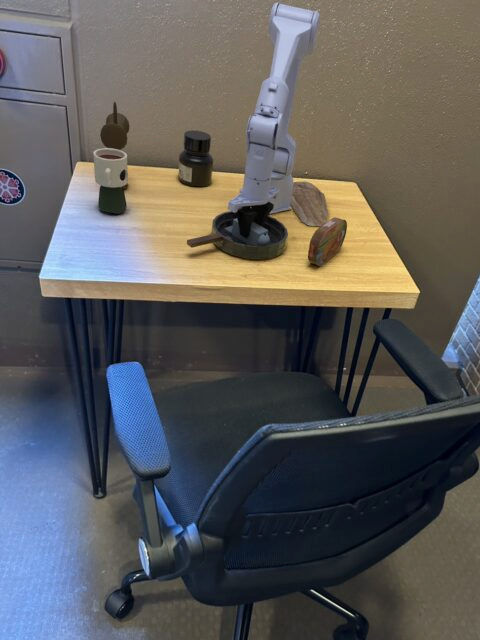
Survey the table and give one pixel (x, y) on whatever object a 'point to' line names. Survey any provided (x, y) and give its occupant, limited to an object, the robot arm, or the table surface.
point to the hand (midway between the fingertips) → (249, 233)
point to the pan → (244, 250)
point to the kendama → (115, 131)
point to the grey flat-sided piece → (255, 237)
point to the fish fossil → (309, 203)
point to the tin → (327, 241)
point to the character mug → (111, 179)
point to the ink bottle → (196, 159)
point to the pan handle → (204, 240)
